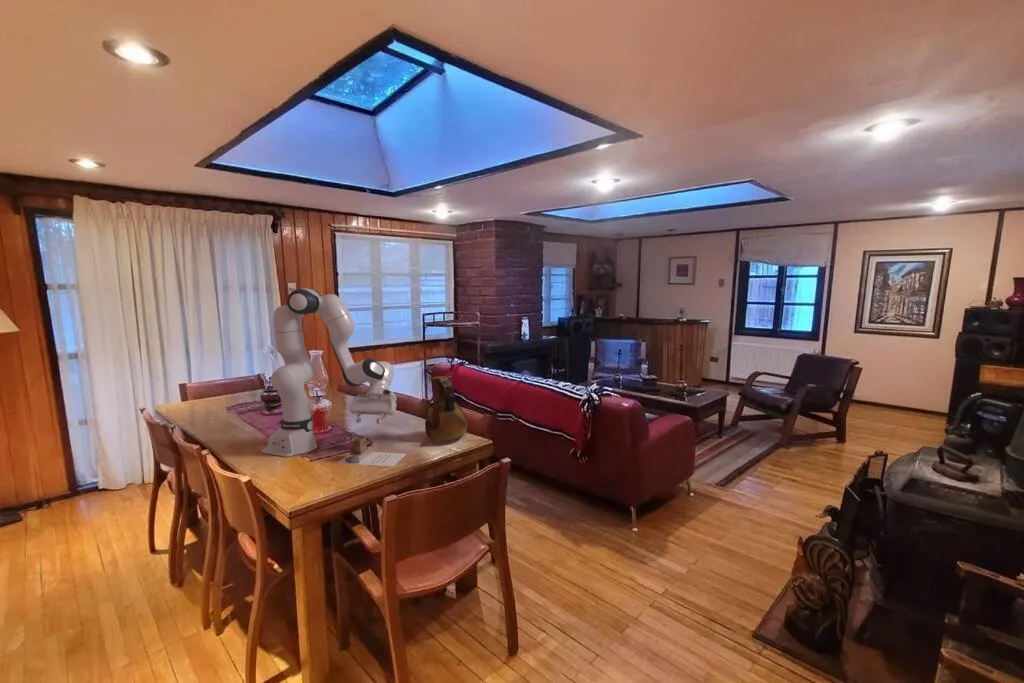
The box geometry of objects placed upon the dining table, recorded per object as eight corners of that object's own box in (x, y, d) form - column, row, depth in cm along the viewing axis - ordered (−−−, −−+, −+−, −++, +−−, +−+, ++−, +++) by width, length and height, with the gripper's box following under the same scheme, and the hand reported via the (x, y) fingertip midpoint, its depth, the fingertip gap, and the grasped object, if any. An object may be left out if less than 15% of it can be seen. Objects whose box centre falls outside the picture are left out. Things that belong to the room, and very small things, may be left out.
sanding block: (345, 462, 178) (344, 443, 177) (358, 452, 188) (357, 434, 187) (359, 463, 177) (358, 444, 176) (371, 452, 187) (371, 434, 186)
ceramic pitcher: (456, 428, 222) (454, 370, 219) (475, 440, 206) (473, 377, 202) (419, 436, 212) (416, 375, 208) (436, 449, 195) (434, 382, 191)
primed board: (337, 466, 177) (336, 462, 177) (353, 454, 190) (353, 450, 190) (393, 469, 174) (393, 466, 173) (406, 457, 186) (406, 453, 186)
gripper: (352, 390, 197) (342, 418, 189) (396, 391, 194) (387, 420, 186) (358, 397, 202) (348, 425, 194) (400, 399, 199) (392, 426, 191)
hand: (367, 422), depth 190 cm, fingers open, 8 cm apart
